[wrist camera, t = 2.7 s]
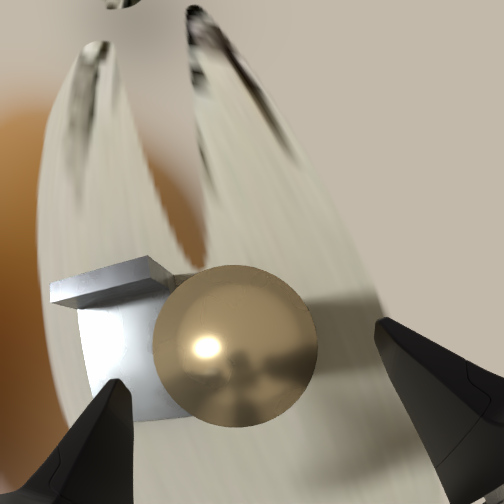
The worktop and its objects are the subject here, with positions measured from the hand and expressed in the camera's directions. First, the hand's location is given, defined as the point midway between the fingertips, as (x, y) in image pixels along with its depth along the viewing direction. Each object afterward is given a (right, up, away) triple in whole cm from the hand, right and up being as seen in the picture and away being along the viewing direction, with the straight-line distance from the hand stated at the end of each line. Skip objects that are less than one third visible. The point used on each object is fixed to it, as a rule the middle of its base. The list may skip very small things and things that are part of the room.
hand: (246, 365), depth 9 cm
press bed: (-7, -3, +9) cm, 12 cm away
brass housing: (0, -2, +9) cm, 9 cm away
